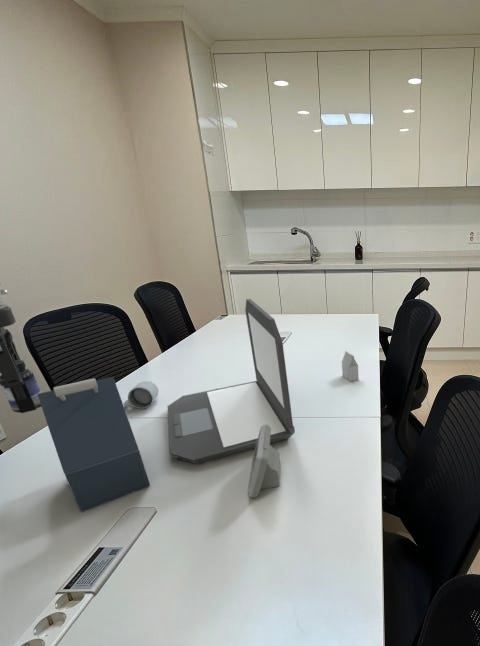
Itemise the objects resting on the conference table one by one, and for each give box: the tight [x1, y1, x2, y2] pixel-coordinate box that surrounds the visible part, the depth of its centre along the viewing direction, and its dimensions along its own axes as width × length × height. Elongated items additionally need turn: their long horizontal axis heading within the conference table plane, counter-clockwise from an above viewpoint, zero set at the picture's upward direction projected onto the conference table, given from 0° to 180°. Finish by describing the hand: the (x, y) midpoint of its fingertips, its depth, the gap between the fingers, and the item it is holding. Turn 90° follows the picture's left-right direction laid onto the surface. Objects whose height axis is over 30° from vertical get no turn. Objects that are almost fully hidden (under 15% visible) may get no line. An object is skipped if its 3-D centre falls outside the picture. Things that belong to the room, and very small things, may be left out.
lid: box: [37, 376, 140, 475], centre depth 81 cm, size 18×14×9 cm
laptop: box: [167, 298, 296, 464], centre depth 113 cm, size 43×31×34 cm
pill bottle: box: [0, 359, 42, 414], centre depth 89 cm, size 6×6×11 cm
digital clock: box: [247, 425, 282, 499], centre depth 92 cm, size 16×9×11 cm, turn 179°
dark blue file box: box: [64, 449, 151, 513], centre depth 92 cm, size 17×14×10 cm
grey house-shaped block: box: [341, 350, 360, 383], centre depth 147 cm, size 4×7×10 cm, turn 27°
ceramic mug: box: [123, 380, 159, 410], centre depth 131 cm, size 11×8×8 cm
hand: (29, 405), depth 91 cm, fingers closed on pill bottle, 6 cm apart
